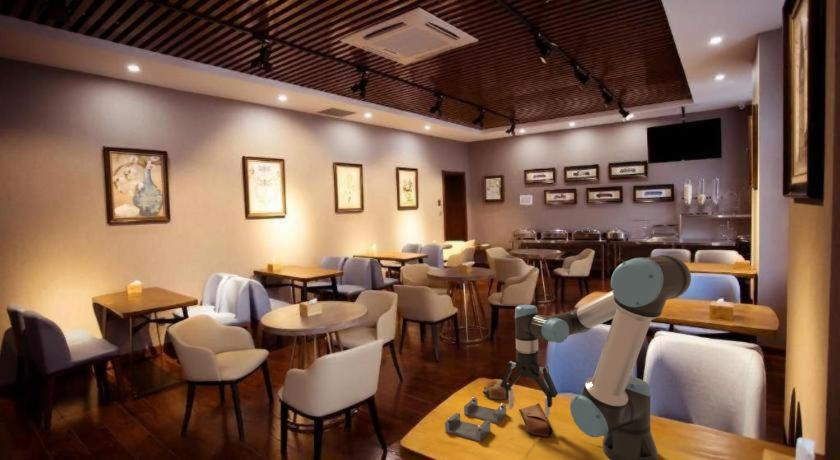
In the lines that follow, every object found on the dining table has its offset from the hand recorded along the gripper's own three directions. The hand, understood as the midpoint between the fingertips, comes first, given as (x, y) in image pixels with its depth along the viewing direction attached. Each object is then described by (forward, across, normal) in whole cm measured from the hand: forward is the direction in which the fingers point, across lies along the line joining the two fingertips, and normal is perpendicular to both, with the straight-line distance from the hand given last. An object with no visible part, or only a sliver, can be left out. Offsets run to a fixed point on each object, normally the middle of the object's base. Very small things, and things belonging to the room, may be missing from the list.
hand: (529, 411), depth 153 cm
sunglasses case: (+5, 0, 0) cm, 5 cm away
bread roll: (+5, +20, -15) cm, 26 cm away
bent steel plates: (+4, +16, +8) cm, 19 cm away
